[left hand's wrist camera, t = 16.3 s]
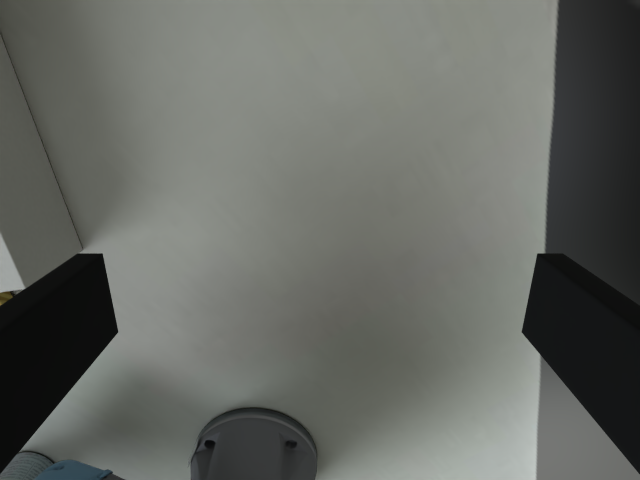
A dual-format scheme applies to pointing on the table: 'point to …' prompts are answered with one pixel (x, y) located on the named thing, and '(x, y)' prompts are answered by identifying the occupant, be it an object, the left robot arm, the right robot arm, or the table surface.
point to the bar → (27, 194)
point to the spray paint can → (25, 467)
